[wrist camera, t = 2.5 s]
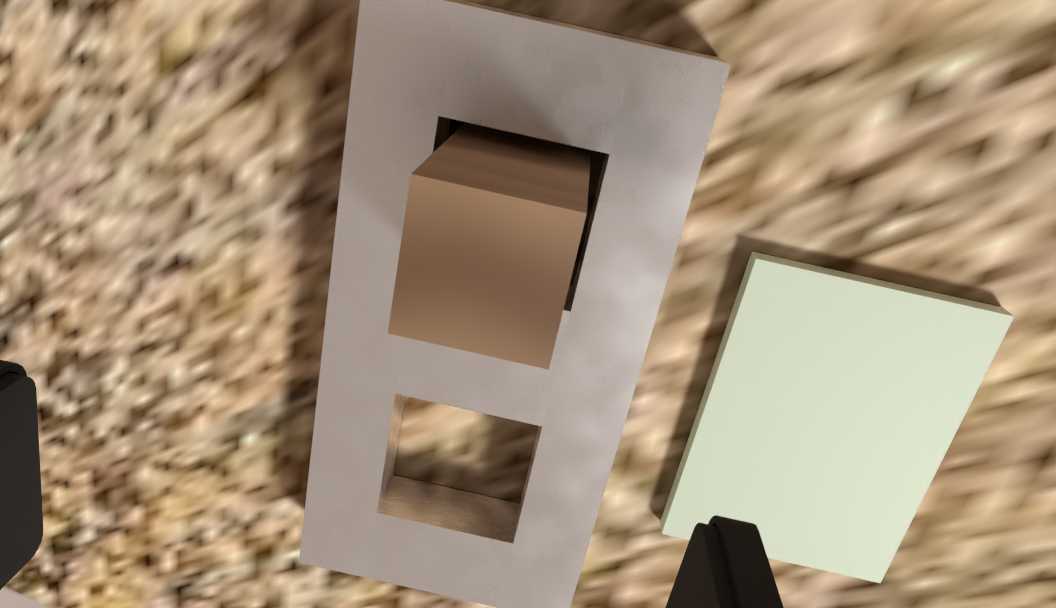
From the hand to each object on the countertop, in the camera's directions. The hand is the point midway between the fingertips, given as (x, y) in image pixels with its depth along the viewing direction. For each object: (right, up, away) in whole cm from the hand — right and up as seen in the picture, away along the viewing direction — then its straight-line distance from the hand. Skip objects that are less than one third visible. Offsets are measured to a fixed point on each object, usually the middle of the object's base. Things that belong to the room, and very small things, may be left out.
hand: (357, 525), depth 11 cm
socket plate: (+1, +2, +18) cm, 18 cm away
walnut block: (+2, +7, +16) cm, 18 cm away
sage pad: (+13, -1, +18) cm, 23 cm away
